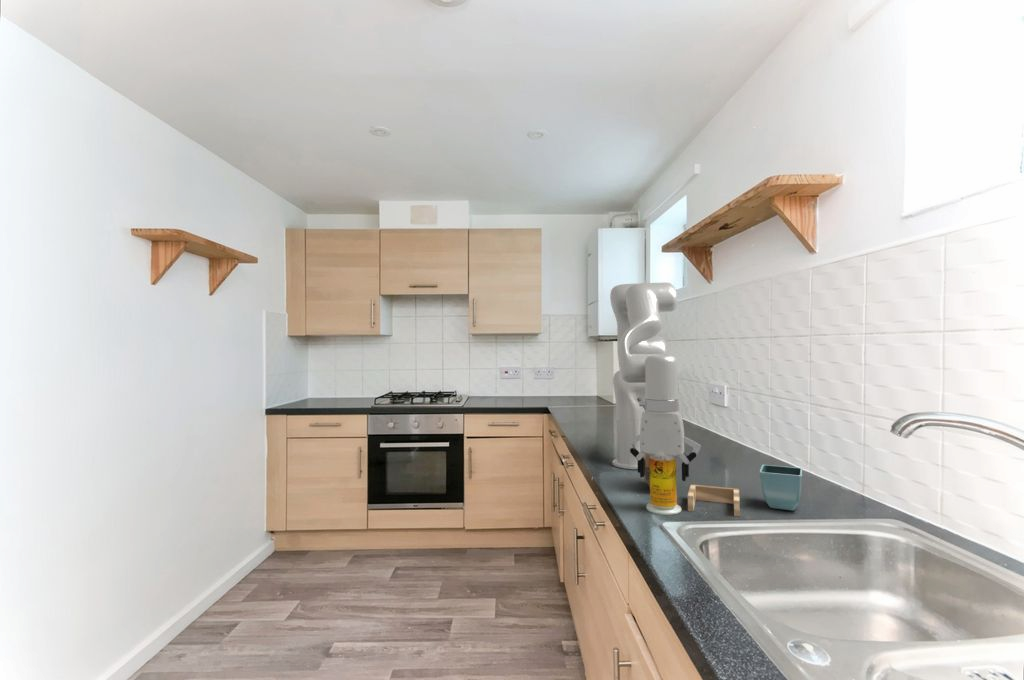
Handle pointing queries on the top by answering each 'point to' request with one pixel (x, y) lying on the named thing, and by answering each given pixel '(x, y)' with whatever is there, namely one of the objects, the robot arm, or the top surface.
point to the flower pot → (781, 486)
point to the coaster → (664, 512)
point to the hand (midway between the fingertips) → (663, 477)
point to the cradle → (714, 496)
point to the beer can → (663, 481)
